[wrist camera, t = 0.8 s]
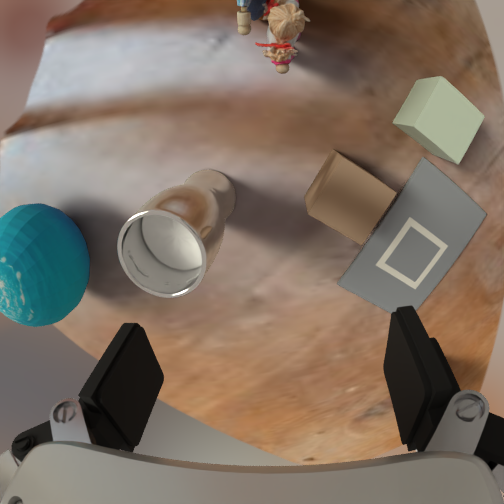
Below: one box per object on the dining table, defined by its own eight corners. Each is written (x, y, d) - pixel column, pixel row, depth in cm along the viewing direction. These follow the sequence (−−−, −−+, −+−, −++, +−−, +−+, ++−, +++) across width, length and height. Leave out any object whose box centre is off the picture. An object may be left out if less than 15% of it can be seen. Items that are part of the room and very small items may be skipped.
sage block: (416, 80, 26) (441, 75, 21) (456, 113, 27) (484, 116, 21) (391, 123, 28) (413, 126, 23) (432, 154, 29) (458, 164, 24)
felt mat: (422, 156, 29) (424, 157, 29) (485, 212, 31) (487, 214, 30) (337, 283, 37) (337, 285, 36) (405, 319, 38) (406, 321, 38)
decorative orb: (20, 240, 39) (-44, 287, 26) (52, 166, 34) (-32, 202, 20) (84, 304, 43) (31, 369, 29) (129, 241, 37) (63, 309, 24)
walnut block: (332, 149, 30) (343, 157, 25) (378, 178, 31) (396, 193, 26) (304, 196, 33) (307, 214, 28) (349, 223, 34) (361, 245, 28)
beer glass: (230, 157, 32) (189, 194, 18) (247, 218, 35) (223, 292, 21) (170, 175, 33) (99, 221, 20) (189, 232, 36) (137, 306, 22)
